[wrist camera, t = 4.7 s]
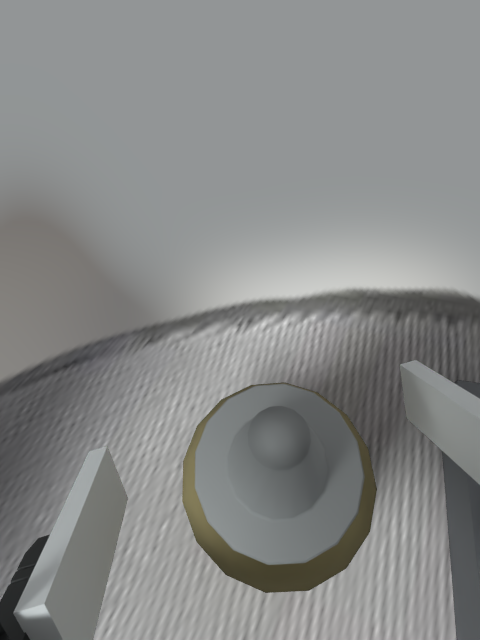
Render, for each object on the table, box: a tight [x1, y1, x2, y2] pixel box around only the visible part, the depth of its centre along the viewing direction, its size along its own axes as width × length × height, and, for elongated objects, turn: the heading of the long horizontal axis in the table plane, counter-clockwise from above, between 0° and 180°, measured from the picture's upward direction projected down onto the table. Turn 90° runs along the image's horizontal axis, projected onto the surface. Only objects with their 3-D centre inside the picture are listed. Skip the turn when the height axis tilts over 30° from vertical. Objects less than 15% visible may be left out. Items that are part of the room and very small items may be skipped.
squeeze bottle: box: [182, 383, 377, 593], centre depth 15 cm, size 8×8×18 cm
